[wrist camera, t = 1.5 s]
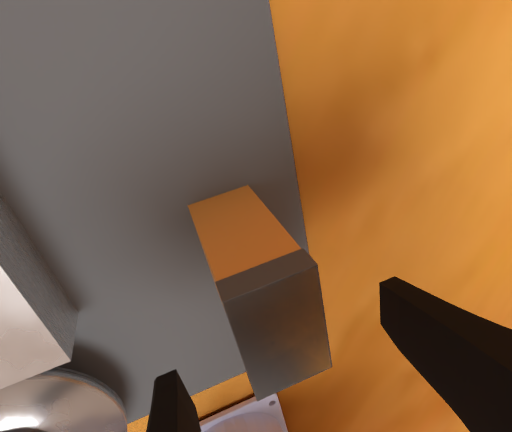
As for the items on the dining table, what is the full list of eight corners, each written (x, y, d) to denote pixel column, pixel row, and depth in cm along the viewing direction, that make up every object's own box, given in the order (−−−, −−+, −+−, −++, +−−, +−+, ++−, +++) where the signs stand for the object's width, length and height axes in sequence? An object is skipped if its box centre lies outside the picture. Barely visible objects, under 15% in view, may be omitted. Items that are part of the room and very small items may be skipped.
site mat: (319, 333, 24) (322, 338, 24) (-67, 502, 20) (-70, 510, 19) (240, -148, 12) (244, -154, 11) (-826, 16, 7) (-874, 15, 7)
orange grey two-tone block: (268, 265, 19) (332, 367, 13) (214, 286, 19) (257, 401, 13) (248, 183, 17) (317, 264, 11) (186, 204, 16) (222, 302, 10)
